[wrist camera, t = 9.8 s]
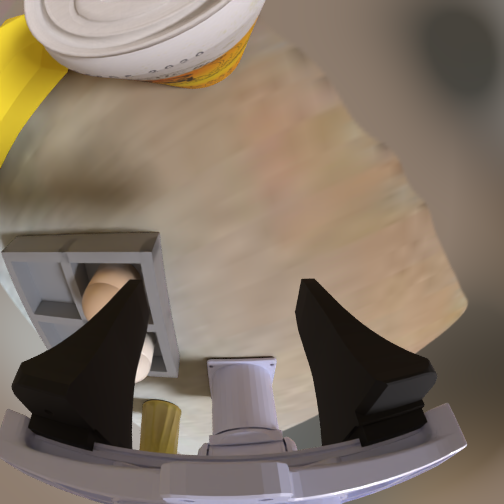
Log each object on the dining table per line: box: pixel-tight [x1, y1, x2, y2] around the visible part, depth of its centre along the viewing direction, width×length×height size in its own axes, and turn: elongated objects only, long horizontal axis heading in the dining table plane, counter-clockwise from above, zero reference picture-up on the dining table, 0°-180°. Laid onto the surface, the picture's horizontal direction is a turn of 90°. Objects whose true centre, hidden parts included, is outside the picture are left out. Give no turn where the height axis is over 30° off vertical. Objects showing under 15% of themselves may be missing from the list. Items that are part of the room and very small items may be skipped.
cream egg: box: [135, 332, 156, 383], centre depth 25 cm, size 4×4×6 cm
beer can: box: [24, 0, 265, 89], centre depth 9 cm, size 6×6×15 cm
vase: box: [140, 400, 181, 454], centre depth 31 cm, size 6×6×14 cm
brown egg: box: [82, 263, 141, 321], centre depth 21 cm, size 4×4×6 cm
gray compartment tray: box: [1, 232, 180, 378], centre depth 24 cm, size 16×16×3 cm
